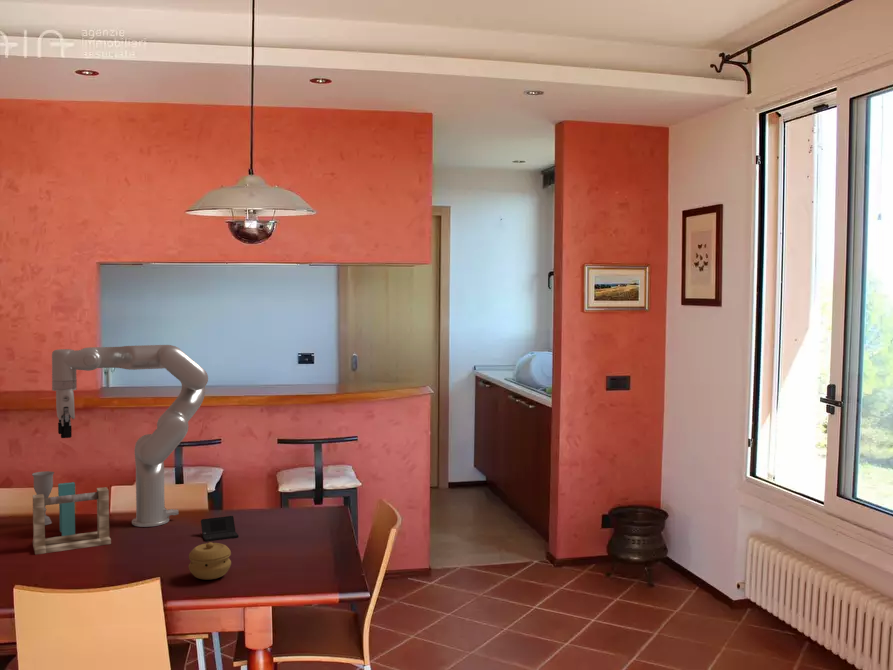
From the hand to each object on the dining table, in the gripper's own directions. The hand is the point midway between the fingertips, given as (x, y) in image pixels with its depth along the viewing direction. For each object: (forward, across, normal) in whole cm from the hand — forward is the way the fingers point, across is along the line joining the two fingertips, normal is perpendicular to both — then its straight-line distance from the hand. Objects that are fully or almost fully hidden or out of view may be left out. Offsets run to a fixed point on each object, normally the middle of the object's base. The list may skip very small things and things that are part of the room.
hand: (64, 435), depth 271 cm
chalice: (+34, +17, +5) cm, 38 cm away
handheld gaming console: (+34, -30, -45) cm, 63 cm away
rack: (+34, -15, -1) cm, 37 cm away
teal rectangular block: (+34, 0, -1) cm, 34 cm away
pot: (+33, -69, -32) cm, 83 cm away
